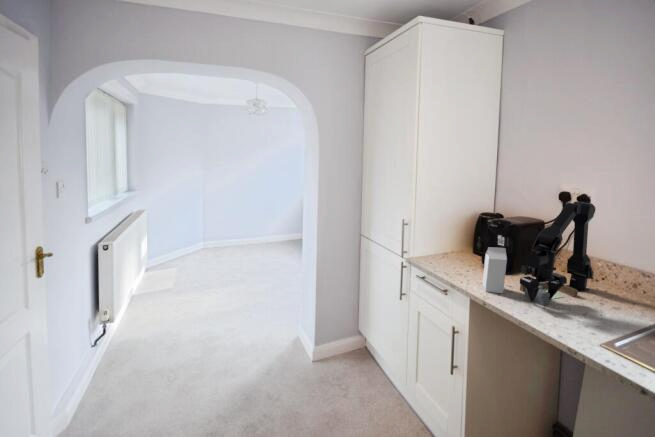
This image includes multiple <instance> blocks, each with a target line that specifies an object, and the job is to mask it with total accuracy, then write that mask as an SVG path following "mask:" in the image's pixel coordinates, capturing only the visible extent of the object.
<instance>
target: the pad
mask: <svg viewBox="0 0 655 437" xmlns="http://www.w3.org/2000/svg"><path fill="white" fill-rule="evenodd" d="M543 290H544V291H546V292H548V288H544V289H543ZM561 298H565V296H563V295H562V294H560V293H557V292H556V294H555V295H554V296H553V297H552V298H551V299H550V300H555V299H561Z"/></svg>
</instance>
